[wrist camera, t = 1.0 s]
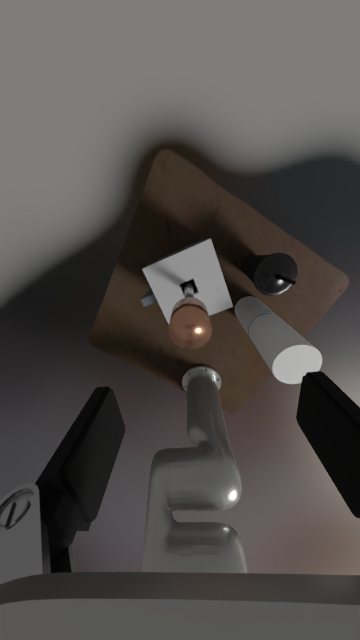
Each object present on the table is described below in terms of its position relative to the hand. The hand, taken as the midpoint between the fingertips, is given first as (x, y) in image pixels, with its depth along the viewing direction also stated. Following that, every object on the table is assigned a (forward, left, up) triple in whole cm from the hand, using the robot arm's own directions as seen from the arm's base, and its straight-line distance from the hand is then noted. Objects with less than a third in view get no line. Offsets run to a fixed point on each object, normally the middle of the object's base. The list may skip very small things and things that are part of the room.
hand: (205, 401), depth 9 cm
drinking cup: (+5, -14, -42) cm, 45 cm away
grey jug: (-1, +2, -42) cm, 42 cm away
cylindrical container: (-6, -17, -42) cm, 46 cm away
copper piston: (0, +1, -32) cm, 32 cm away
